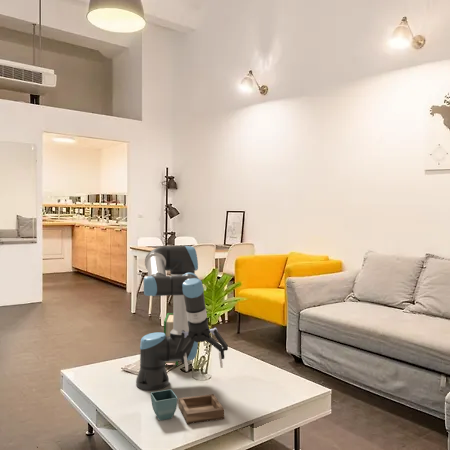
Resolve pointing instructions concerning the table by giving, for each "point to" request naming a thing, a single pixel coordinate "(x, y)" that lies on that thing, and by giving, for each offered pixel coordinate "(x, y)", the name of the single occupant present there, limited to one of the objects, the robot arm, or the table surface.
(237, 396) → the table surface
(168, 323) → the hardback book
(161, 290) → the robot arm
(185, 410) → the wooden tray
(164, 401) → the flower pot
